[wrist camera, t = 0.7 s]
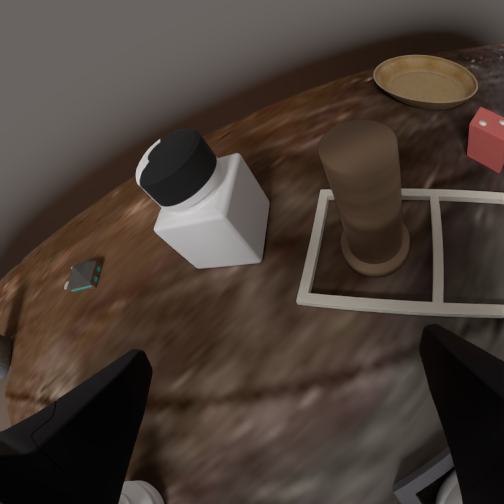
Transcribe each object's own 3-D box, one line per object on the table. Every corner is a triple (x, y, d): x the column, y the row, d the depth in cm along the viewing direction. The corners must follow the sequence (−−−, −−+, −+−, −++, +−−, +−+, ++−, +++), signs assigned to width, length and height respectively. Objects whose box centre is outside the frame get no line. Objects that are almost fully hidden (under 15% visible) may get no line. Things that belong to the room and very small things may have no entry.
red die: (508, 152, 19) (514, 122, 16) (499, 173, 19) (506, 141, 16) (478, 136, 22) (480, 106, 19) (466, 155, 22) (469, 123, 18)
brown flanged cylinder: (423, 247, 20) (428, 141, 12) (371, 291, 20) (352, 199, 12) (378, 206, 24) (358, 104, 16) (329, 244, 24) (289, 148, 16)
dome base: (529, 478, 6) (540, 482, 5) (436, 551, 7) (440, 562, 5) (489, 408, 12) (499, 407, 10) (392, 484, 12) (393, 492, 11)
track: (594, 208, 11) (596, 204, 11) (618, 313, 6) (621, 311, 6) (322, 193, 27) (320, 189, 26) (298, 304, 22) (295, 301, 22)
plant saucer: (456, 68, 29) (455, 54, 27) (494, 120, 22) (495, 102, 20) (371, 72, 35) (367, 58, 33) (385, 123, 29) (382, 105, 27)
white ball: (515, 484, 7) (548, 499, 3) (451, 536, 7) (465, 567, 3) (488, 438, 10) (520, 443, 6) (422, 491, 10) (433, 517, 6)
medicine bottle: (271, 201, 29) (211, 107, 20) (263, 264, 26) (184, 169, 17) (211, 213, 32) (145, 135, 23) (197, 270, 29) (111, 195, 20)
